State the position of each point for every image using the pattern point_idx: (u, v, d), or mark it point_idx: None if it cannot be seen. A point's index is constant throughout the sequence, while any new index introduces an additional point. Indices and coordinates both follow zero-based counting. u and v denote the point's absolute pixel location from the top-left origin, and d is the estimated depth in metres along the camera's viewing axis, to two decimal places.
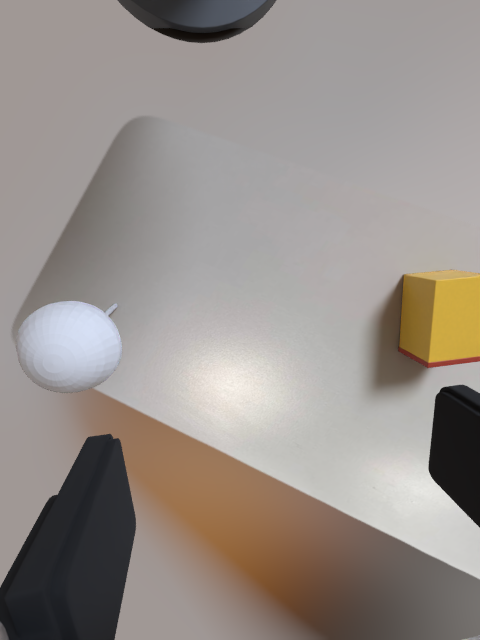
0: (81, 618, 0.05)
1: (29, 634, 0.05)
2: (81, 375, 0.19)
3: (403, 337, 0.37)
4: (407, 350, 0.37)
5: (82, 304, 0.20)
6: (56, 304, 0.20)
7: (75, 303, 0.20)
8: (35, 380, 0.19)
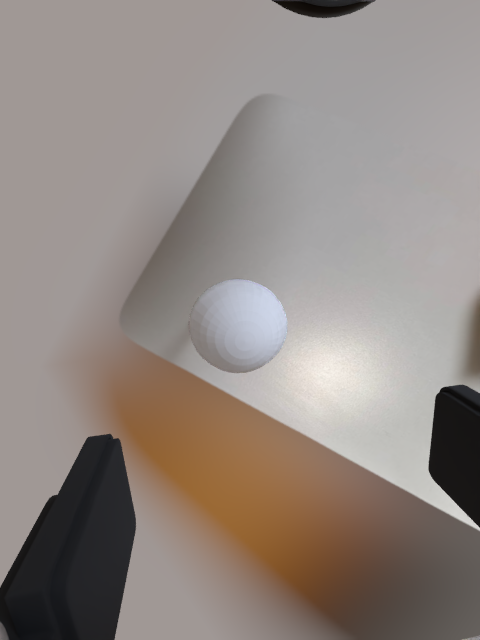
0: (81, 618, 0.05)
1: (29, 634, 0.05)
2: (265, 354, 0.19)
3: None
4: None
5: (254, 282, 0.20)
6: (233, 281, 0.19)
7: (248, 281, 0.20)
8: (218, 359, 0.18)
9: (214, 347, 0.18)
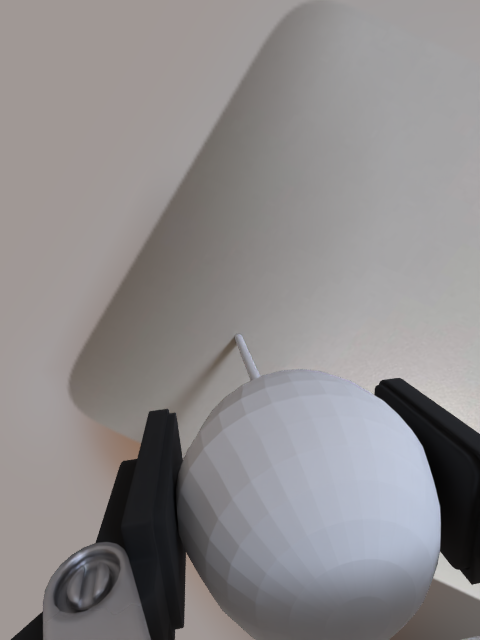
0: (172, 552, 0.06)
1: (137, 559, 0.06)
2: None
3: None
4: None
5: (349, 386, 0.07)
6: (299, 394, 0.07)
7: (337, 385, 0.07)
8: None
9: (252, 623, 0.06)
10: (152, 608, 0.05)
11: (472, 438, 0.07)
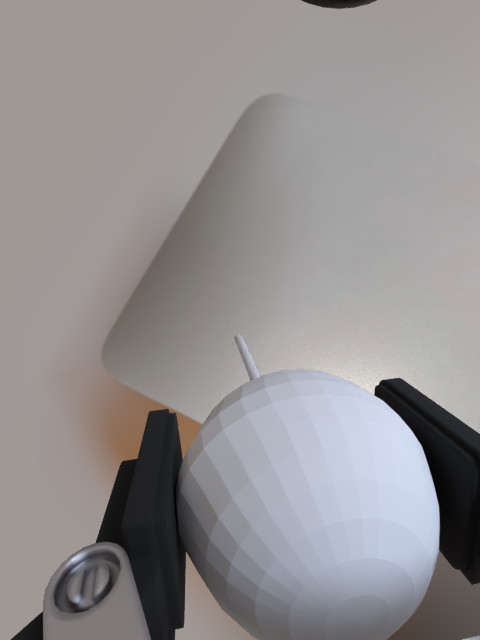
0: (172, 552, 0.06)
1: (138, 559, 0.06)
2: (403, 623, 0.06)
3: None
4: None
5: (348, 386, 0.07)
6: (299, 394, 0.07)
7: (336, 385, 0.07)
8: None
9: (252, 621, 0.06)
10: (152, 608, 0.05)
11: (472, 438, 0.07)
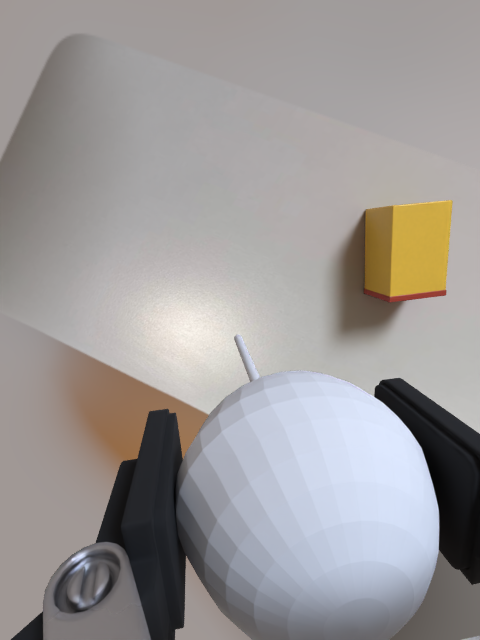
0: (172, 552, 0.06)
1: (138, 559, 0.06)
2: (402, 626, 0.06)
3: (368, 277, 0.35)
4: (371, 289, 0.35)
5: (348, 387, 0.07)
6: (298, 395, 0.07)
7: (336, 387, 0.07)
8: None
9: (251, 624, 0.06)
10: (152, 608, 0.05)
11: (472, 438, 0.07)
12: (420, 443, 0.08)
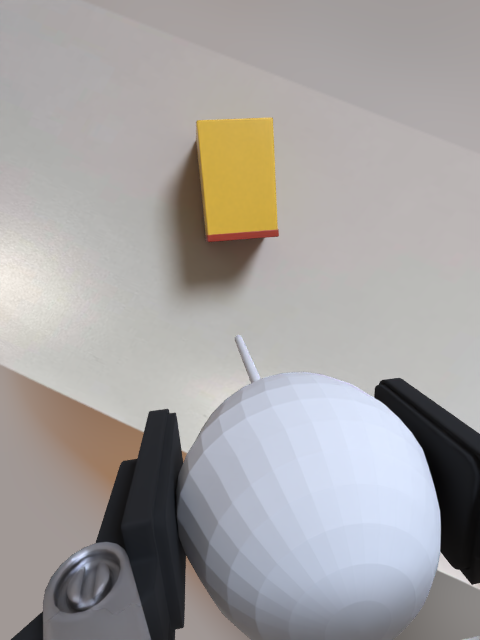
0: (172, 552, 0.06)
1: (138, 559, 0.06)
2: (404, 628, 0.06)
3: (204, 219, 0.31)
4: None
5: (349, 389, 0.07)
6: (299, 397, 0.07)
7: (337, 389, 0.07)
8: None
9: (252, 627, 0.06)
10: (152, 608, 0.05)
11: (472, 438, 0.07)
12: (420, 443, 0.08)
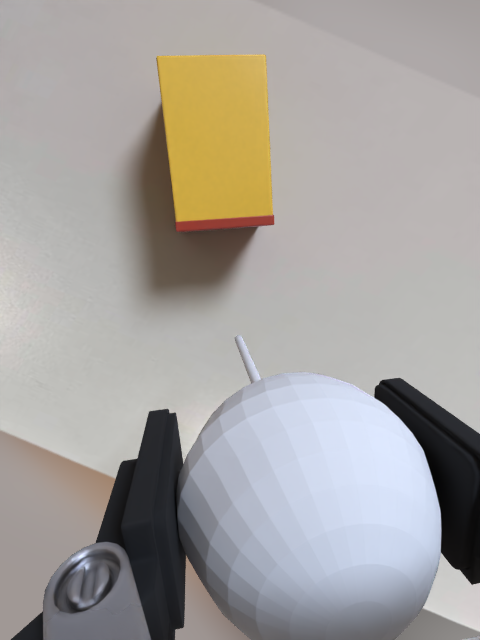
0: (172, 552, 0.06)
1: (138, 559, 0.06)
2: (404, 629, 0.06)
3: None
4: None
5: (349, 389, 0.07)
6: (299, 398, 0.07)
7: (337, 389, 0.07)
8: None
9: (253, 627, 0.06)
10: (152, 608, 0.05)
11: (472, 438, 0.07)
12: (420, 443, 0.08)
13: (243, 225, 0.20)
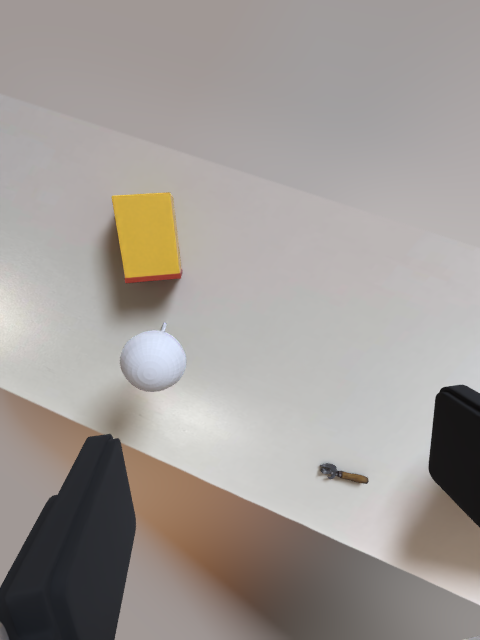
0: (81, 618, 0.05)
1: (29, 634, 0.05)
2: (165, 380, 0.29)
3: None
4: None
5: (162, 333, 0.31)
6: (147, 334, 0.30)
7: (158, 332, 0.30)
8: (135, 384, 0.29)
9: (132, 377, 0.29)
10: None
11: None
12: None
13: (163, 279, 0.36)
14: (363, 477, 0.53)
